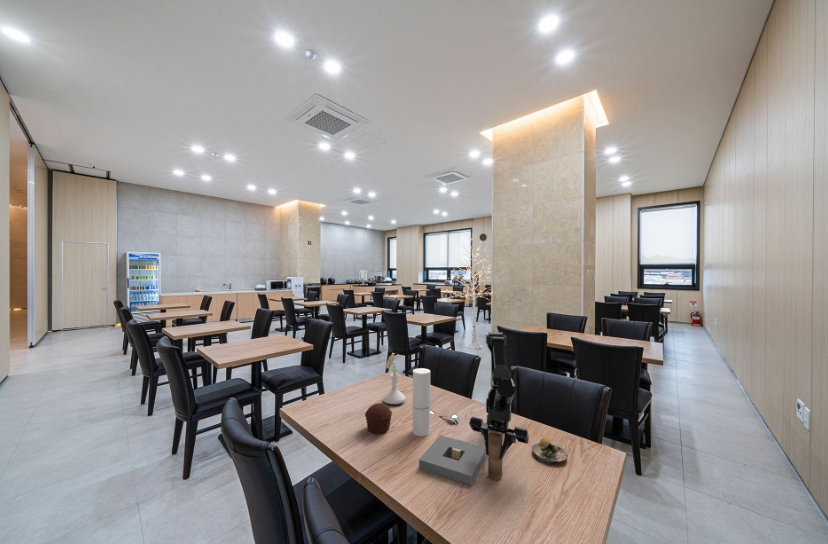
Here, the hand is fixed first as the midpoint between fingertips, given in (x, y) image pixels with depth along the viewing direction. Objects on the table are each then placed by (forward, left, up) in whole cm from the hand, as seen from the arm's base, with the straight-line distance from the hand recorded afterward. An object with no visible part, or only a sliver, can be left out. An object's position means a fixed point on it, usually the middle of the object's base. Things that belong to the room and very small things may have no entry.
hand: (494, 457), depth 100 cm
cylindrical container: (+11, -35, -7) cm, 37 cm away
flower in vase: (+13, -67, -7) cm, 68 cm away
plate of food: (-26, -4, -7) cm, 27 cm away
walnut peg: (-1, -1, -7) cm, 7 cm away
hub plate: (+8, -12, -7) cm, 16 cm away
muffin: (+27, -43, -7) cm, 51 cm away
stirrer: (-3, -45, -7) cm, 46 cm away
